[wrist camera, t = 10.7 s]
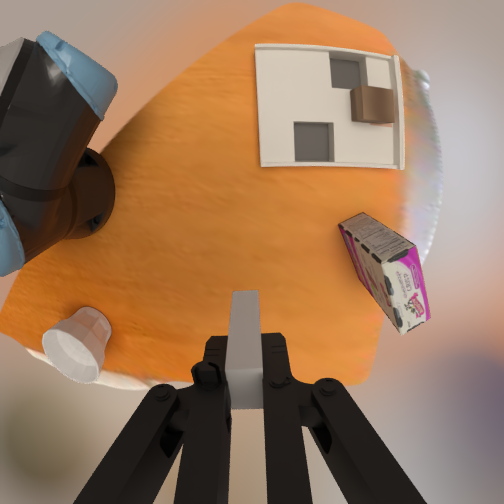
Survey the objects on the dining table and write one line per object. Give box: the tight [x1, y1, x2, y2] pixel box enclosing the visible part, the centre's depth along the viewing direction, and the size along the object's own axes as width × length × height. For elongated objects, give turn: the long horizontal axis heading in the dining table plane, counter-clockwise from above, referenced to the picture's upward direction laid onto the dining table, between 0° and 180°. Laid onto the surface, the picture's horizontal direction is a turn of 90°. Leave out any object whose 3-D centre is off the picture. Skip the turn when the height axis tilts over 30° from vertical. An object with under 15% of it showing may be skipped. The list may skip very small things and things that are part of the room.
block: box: [350, 85, 395, 124], centre depth 31 cm, size 4×4×4 cm
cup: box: [42, 307, 111, 384], centre depth 44 cm, size 12×12×11 cm
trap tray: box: [255, 44, 405, 170], centre depth 34 cm, size 20×17×5 cm
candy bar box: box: [338, 213, 431, 335], centre depth 36 cm, size 11×5×16 cm, turn 28°
